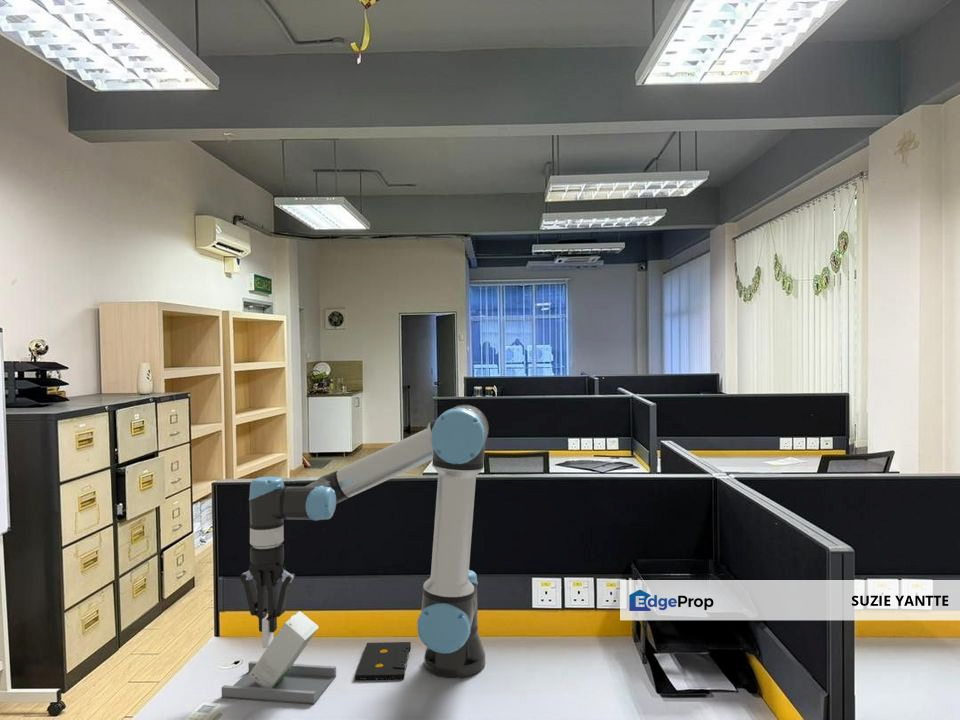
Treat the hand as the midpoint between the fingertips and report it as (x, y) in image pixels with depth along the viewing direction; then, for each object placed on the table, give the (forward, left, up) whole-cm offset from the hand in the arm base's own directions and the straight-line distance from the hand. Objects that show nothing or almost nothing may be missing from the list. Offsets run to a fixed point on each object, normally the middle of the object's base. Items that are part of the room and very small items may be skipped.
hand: (268, 645), depth 154 cm
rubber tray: (-3, 0, -10) cm, 10 cm away
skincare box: (+1, 0, -7) cm, 7 cm away
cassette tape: (-23, -15, -10) cm, 30 cm away
